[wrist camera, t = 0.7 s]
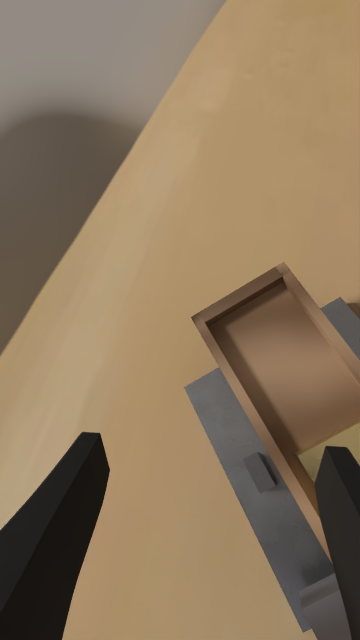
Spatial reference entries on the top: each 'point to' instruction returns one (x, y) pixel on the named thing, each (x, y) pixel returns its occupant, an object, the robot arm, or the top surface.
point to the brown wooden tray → (288, 395)
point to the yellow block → (353, 436)
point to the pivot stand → (268, 475)
